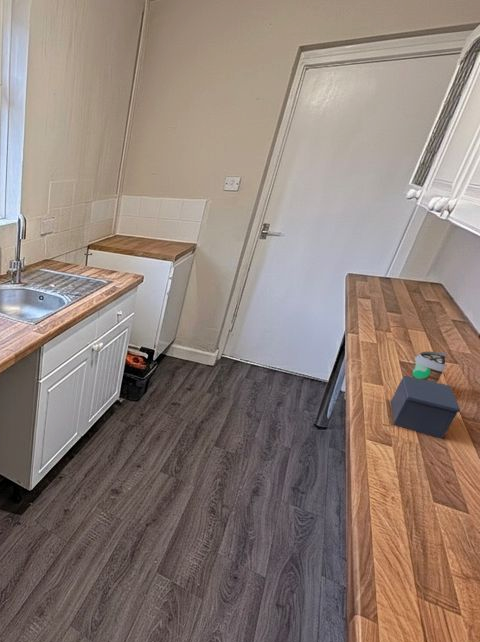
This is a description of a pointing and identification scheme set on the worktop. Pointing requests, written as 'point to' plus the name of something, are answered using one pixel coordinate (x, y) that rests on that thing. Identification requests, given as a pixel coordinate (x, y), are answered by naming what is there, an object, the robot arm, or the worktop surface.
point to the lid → (430, 393)
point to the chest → (420, 415)
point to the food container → (429, 366)
